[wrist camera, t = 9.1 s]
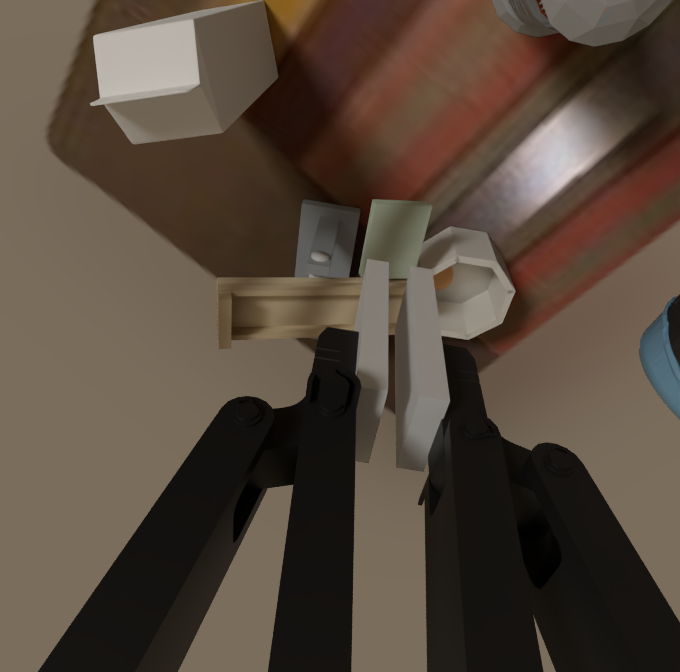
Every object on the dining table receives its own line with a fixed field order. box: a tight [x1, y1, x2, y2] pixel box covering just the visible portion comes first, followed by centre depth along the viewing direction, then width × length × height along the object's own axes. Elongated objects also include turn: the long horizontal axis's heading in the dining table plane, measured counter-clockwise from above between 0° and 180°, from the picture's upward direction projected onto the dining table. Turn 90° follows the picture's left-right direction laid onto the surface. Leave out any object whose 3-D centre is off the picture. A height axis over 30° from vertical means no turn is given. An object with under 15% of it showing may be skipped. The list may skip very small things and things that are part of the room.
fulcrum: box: [295, 199, 361, 339], centre depth 50 cm, size 6×10×12 cm, turn 172°
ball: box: [433, 266, 453, 290], centre depth 54 cm, size 3×3×3 cm
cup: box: [417, 226, 515, 340], centre depth 53 cm, size 9×9×6 cm
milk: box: [90, 0, 278, 144], centre depth 35 cm, size 6×6×22 cm
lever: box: [217, 199, 432, 349], centre depth 43 cm, size 18×12×3 cm
